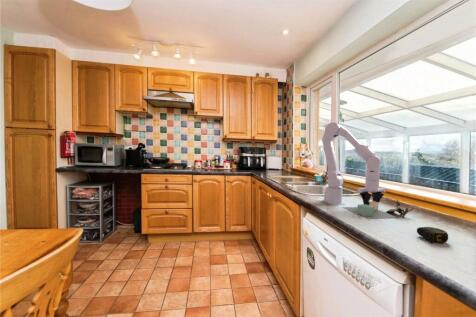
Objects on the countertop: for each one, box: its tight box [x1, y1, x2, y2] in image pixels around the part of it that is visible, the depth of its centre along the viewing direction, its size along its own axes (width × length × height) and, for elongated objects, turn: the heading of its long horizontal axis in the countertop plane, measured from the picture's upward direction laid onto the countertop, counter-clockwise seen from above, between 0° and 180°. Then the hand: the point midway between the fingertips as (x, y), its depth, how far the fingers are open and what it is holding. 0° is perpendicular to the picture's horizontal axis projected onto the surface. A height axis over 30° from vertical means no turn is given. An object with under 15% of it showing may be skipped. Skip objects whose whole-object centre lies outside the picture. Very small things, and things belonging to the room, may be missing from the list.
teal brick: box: [356, 204, 374, 217], centre depth 97 cm, size 4×4×4 cm
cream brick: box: [363, 199, 380, 210], centre depth 107 cm, size 4×4×4 cm
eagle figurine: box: [386, 199, 414, 218], centre depth 99 cm, size 8×8×10 cm
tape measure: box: [416, 226, 449, 244], centre depth 71 cm, size 7×7×4 cm
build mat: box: [341, 206, 401, 220], centre depth 101 cm, size 18×16×1 cm
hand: (370, 206), depth 107 cm, fingers closed on cream brick, 4 cm apart
